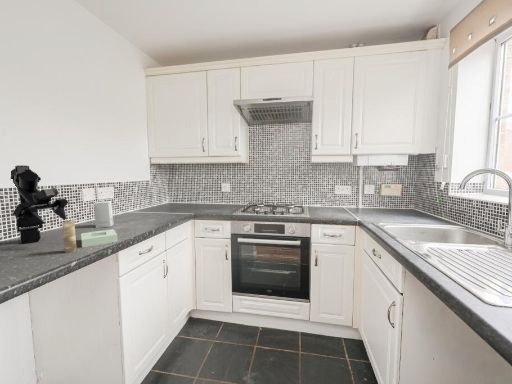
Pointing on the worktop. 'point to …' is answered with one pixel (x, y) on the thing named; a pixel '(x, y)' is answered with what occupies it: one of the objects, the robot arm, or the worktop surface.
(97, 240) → the hole block
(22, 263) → the worktop surface
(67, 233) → the beech peg
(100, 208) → the skincare box
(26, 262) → the worktop surface
